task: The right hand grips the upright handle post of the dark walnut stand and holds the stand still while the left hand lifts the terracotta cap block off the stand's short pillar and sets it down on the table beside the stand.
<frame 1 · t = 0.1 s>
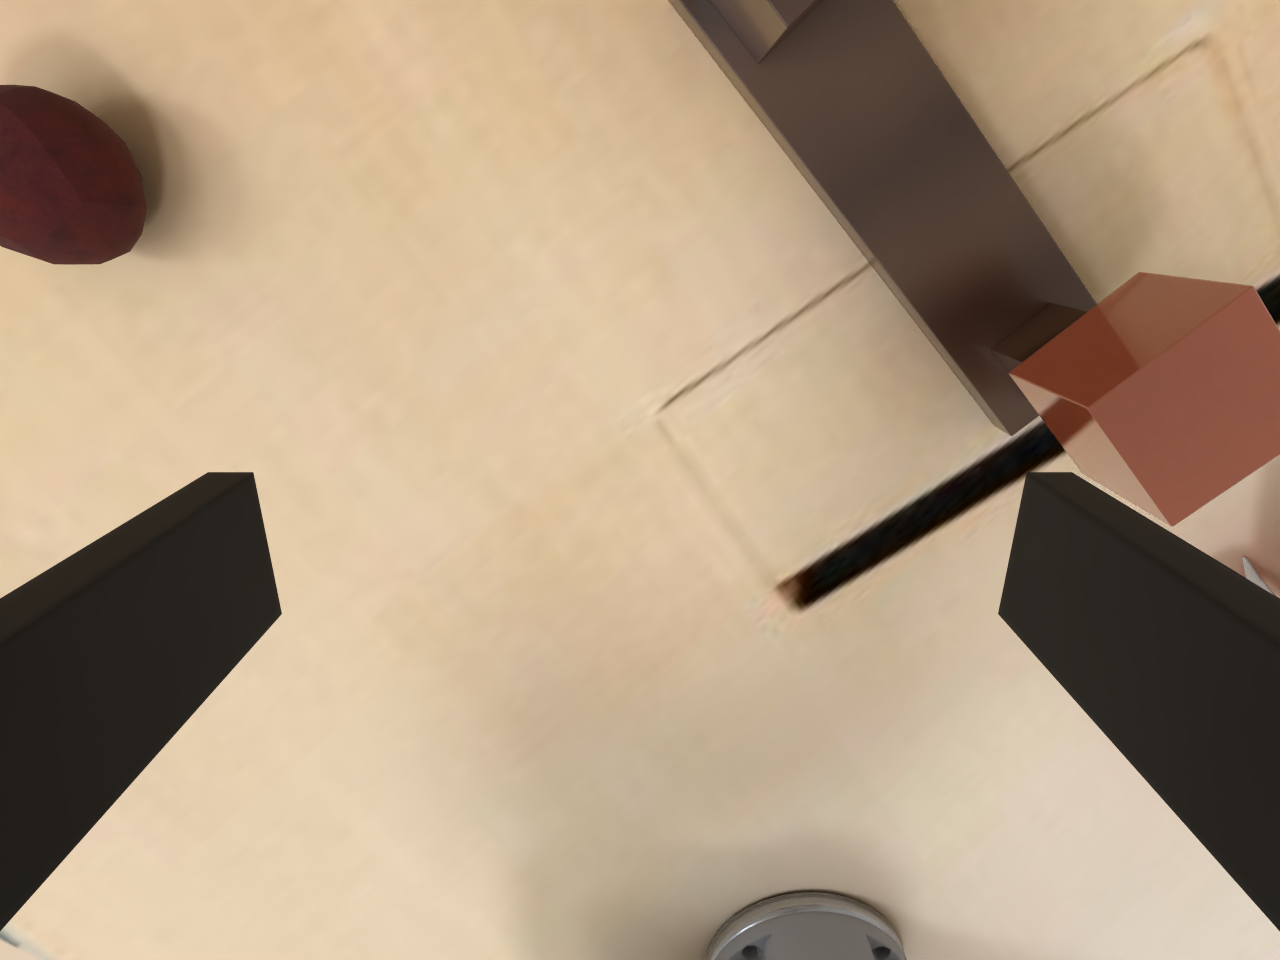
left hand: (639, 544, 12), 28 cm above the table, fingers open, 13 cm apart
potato: (106, 184, 36), on the table
walnut stand: (902, 184, 36), on the table, touching cap block
fish: (1242, 576, 44), on the table
cap block: (1109, 377, 32), point 8 cm above the table, touching walnut stand
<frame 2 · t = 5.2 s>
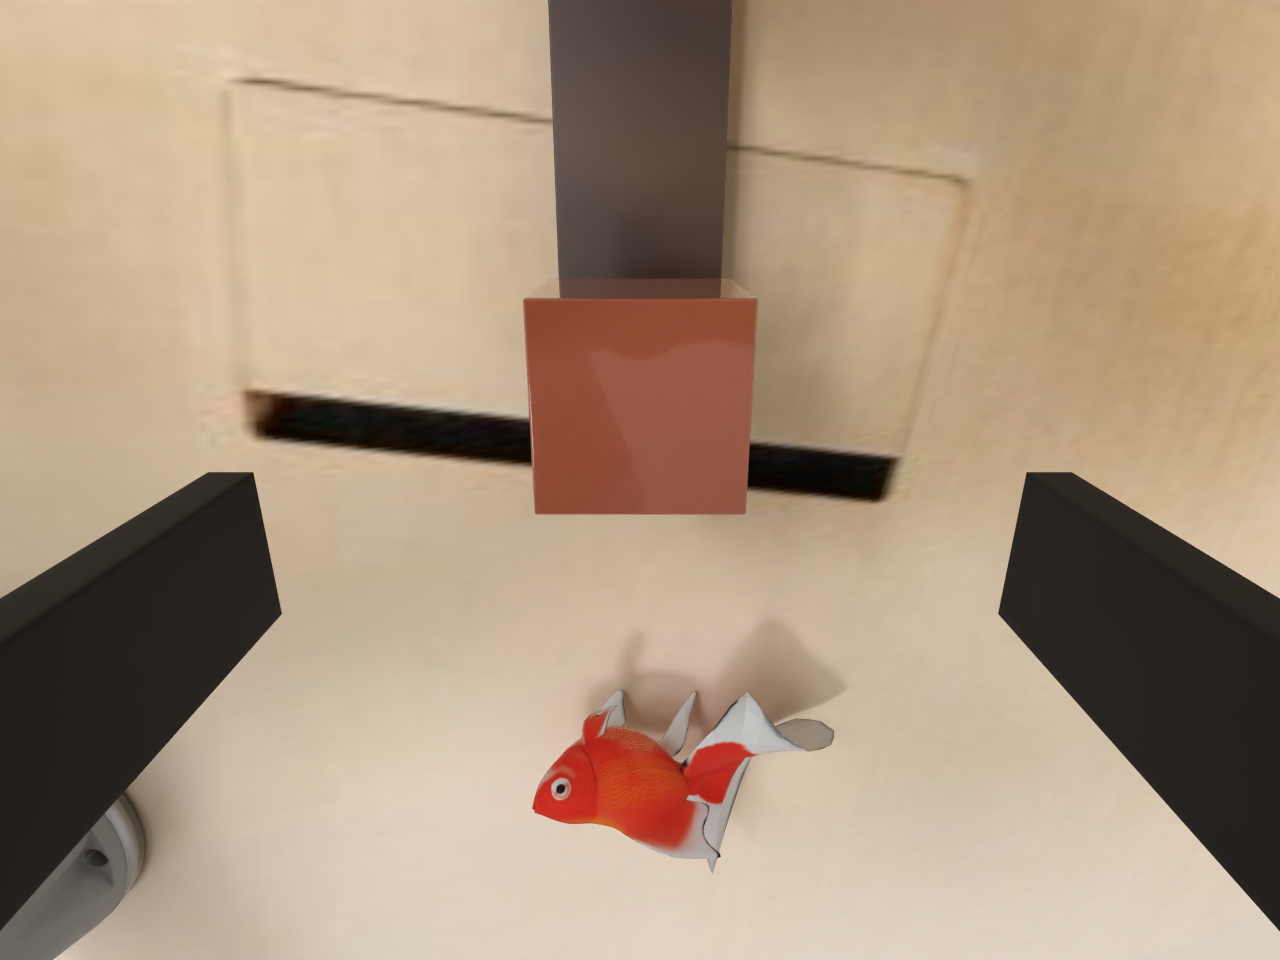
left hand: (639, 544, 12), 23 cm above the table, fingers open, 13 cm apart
walnut stand: (640, 66, 30), on the table, touching cap block, right hand
fish: (684, 710, 41), on the table
cap block: (640, 369, 26), point 8 cm above the table, touching walnut stand
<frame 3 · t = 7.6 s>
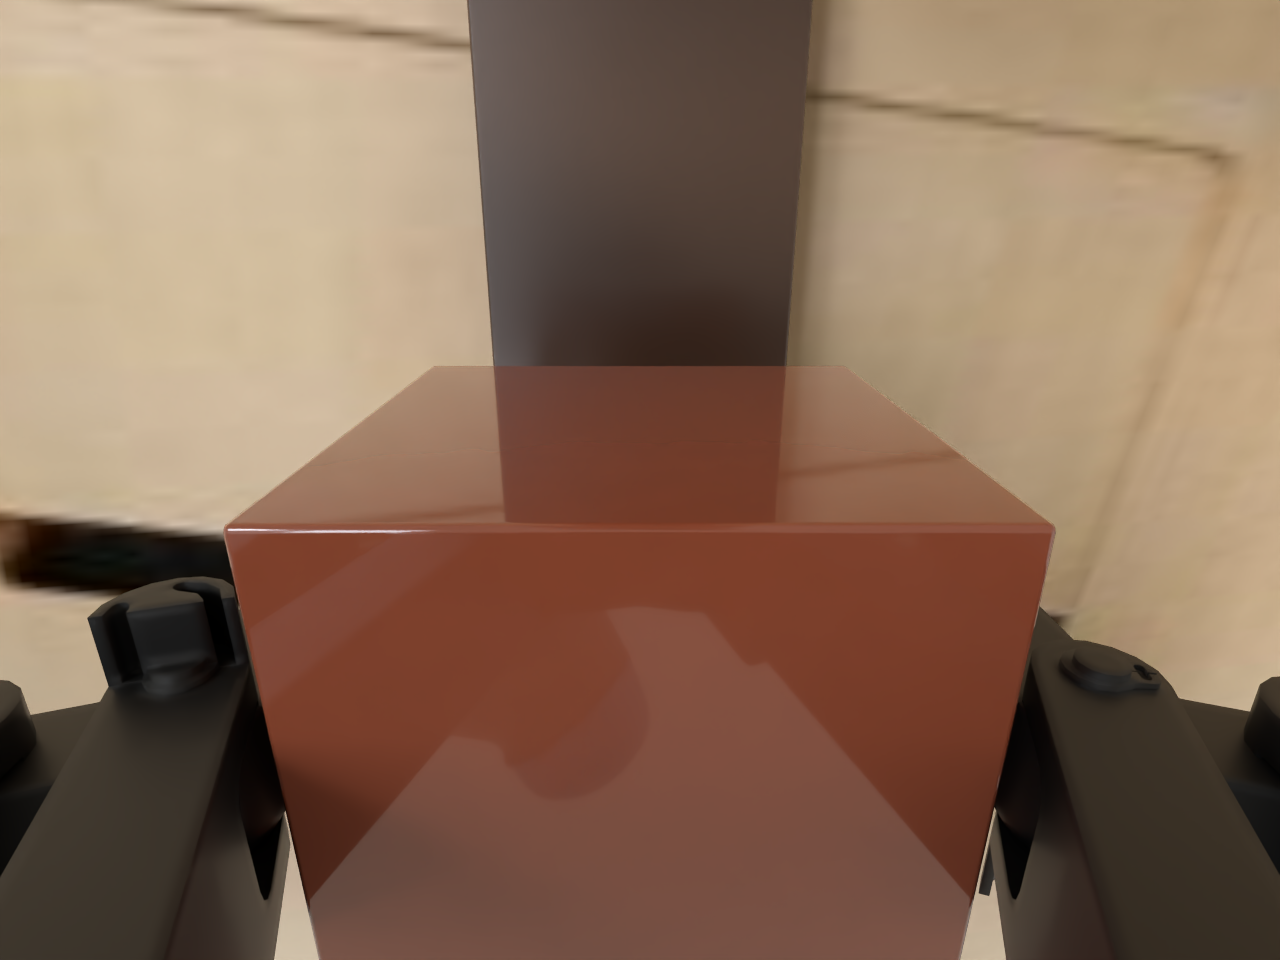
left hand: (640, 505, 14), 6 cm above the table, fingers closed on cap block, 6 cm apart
cap block: (639, 552, 12), point 8 cm above the table, touching left hand, walnut stand
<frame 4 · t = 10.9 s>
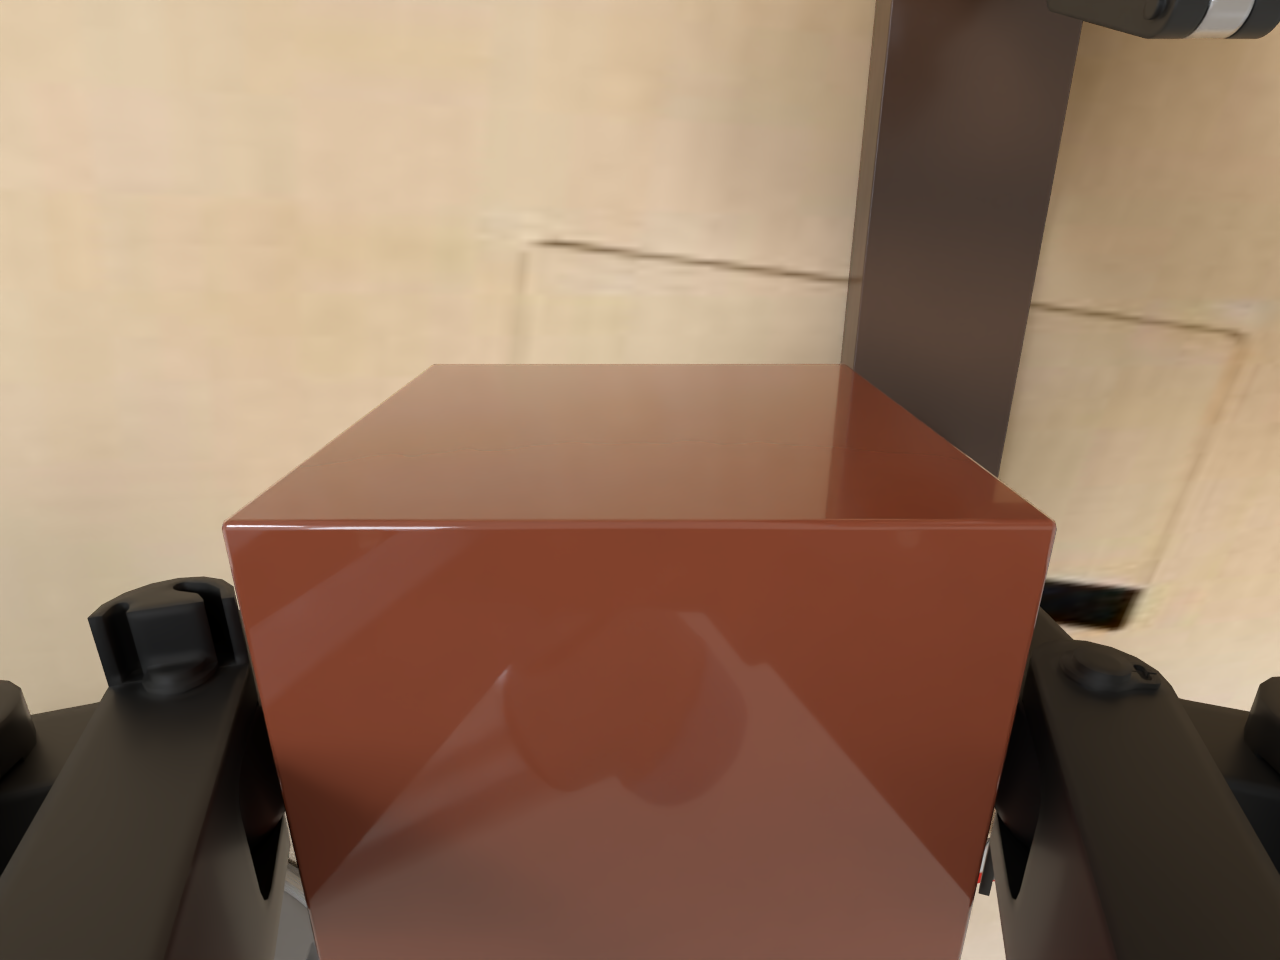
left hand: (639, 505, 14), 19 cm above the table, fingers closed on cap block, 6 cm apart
walnut stand: (936, 230, 30), on the table, touching right hand
cap block: (639, 550, 12), point 21 cm above the table, touching left hand
when the left hand's fingers open (1 cm above the table, at t = 14.3 s): cap block drops 3 cm, on the table.
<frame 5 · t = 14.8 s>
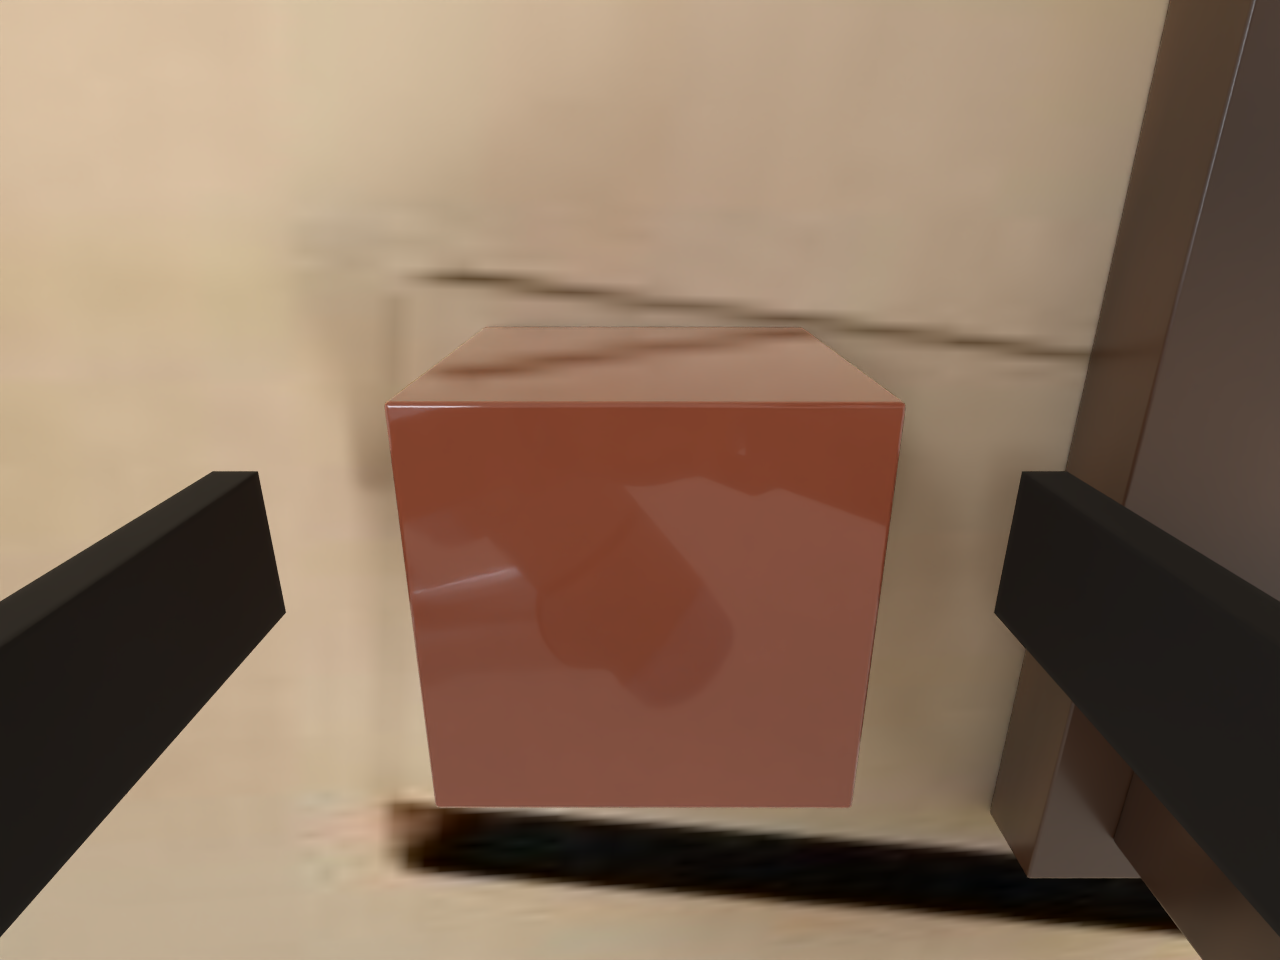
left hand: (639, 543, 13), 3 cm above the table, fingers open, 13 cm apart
cap block: (643, 476, 15), on the table
when the right hand's fingers open (4 cm above the table, at t = 17.5 s): walnut stand stays where it is, on the table.
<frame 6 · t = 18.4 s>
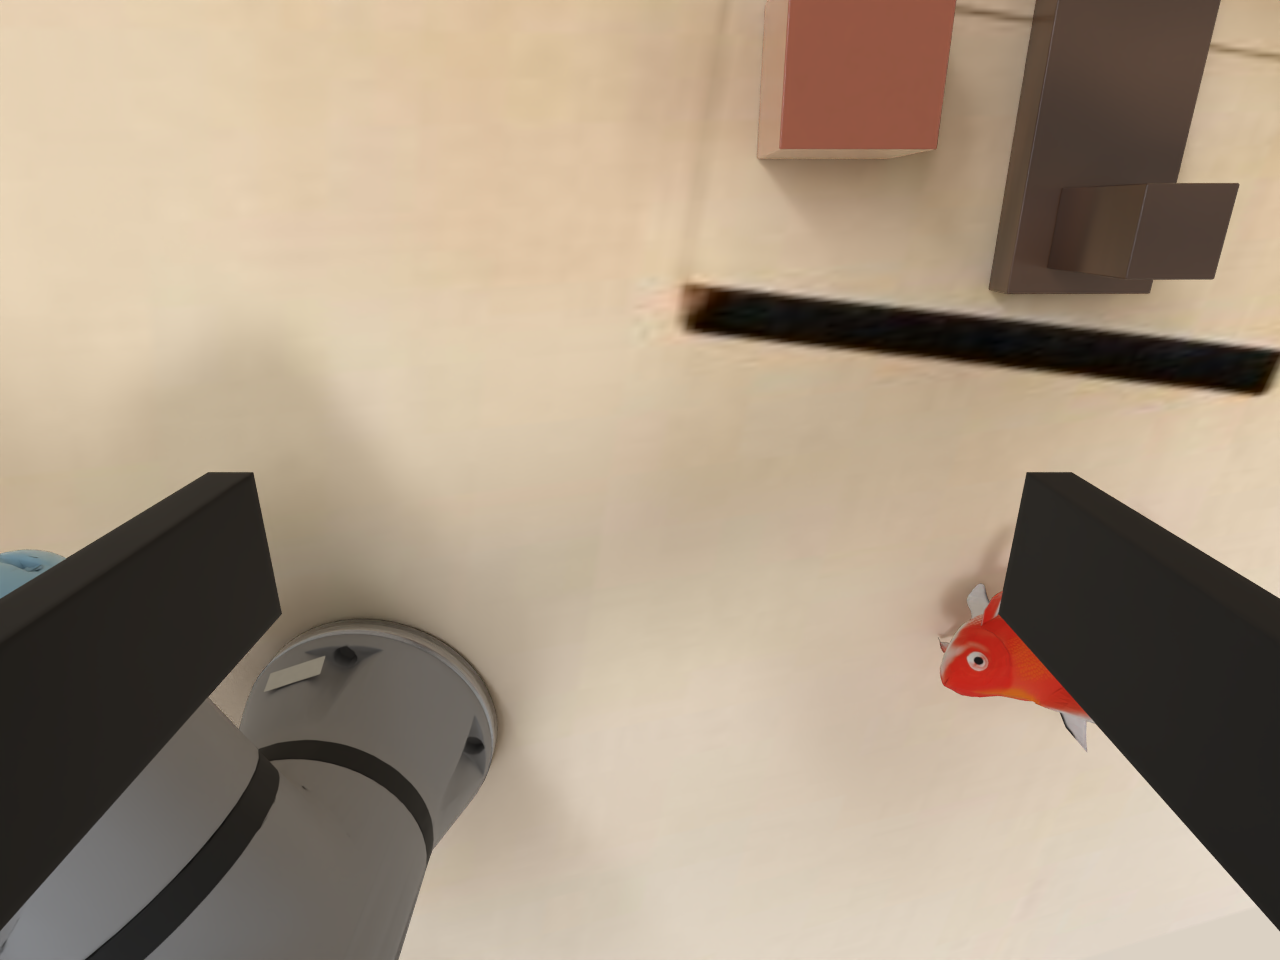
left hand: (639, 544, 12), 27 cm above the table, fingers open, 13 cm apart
fish: (1036, 604, 43), on the table
cap block: (829, 84, 34), on the table
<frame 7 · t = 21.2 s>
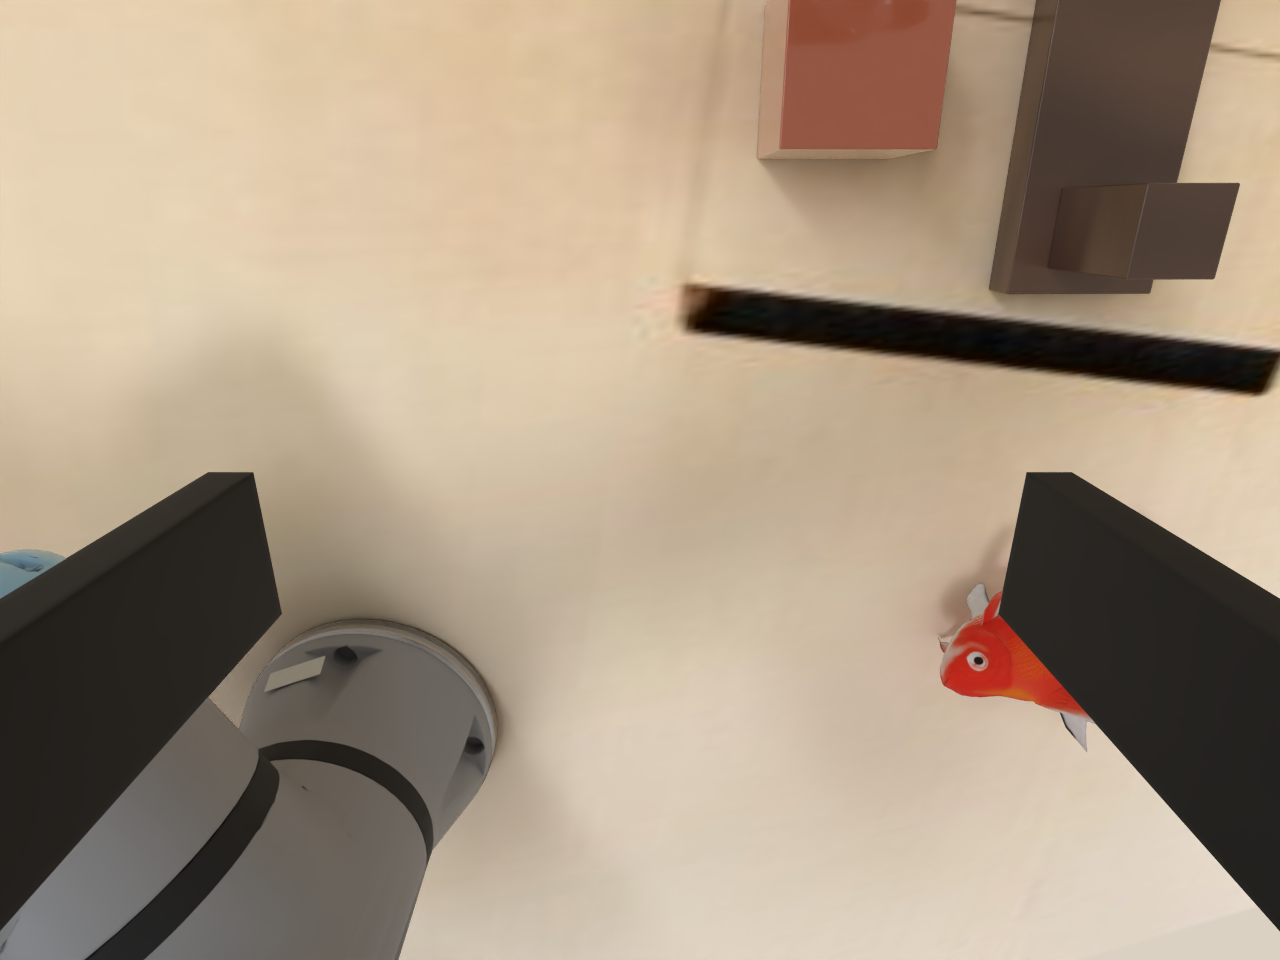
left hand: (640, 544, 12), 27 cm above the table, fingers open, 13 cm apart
fish: (1036, 604, 43), on the table
cap block: (829, 84, 34), on the table
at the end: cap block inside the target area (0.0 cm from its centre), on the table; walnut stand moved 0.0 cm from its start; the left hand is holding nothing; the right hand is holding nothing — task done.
